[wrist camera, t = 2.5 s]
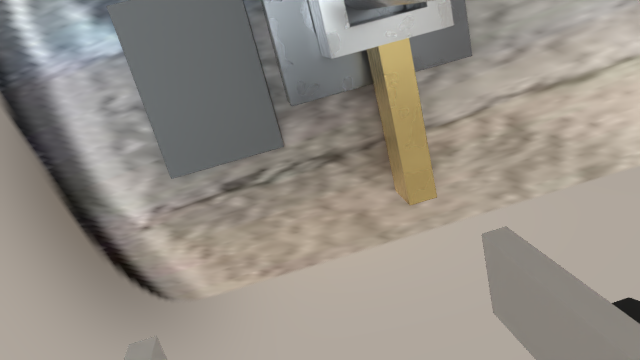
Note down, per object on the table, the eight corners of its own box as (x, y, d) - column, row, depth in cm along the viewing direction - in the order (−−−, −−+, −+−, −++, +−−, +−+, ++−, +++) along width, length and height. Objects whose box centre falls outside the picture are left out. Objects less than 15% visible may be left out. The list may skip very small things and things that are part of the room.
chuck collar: (291, -72, 24) (298, -85, 21) (410, -101, 25) (433, -118, 22) (356, 199, 29) (369, 217, 26) (454, 170, 30) (477, 185, 27)
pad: (109, 6, 26) (106, 6, 25) (234, -26, 27) (234, -27, 26) (172, 175, 29) (171, 178, 29) (283, 144, 30) (284, 146, 29)
